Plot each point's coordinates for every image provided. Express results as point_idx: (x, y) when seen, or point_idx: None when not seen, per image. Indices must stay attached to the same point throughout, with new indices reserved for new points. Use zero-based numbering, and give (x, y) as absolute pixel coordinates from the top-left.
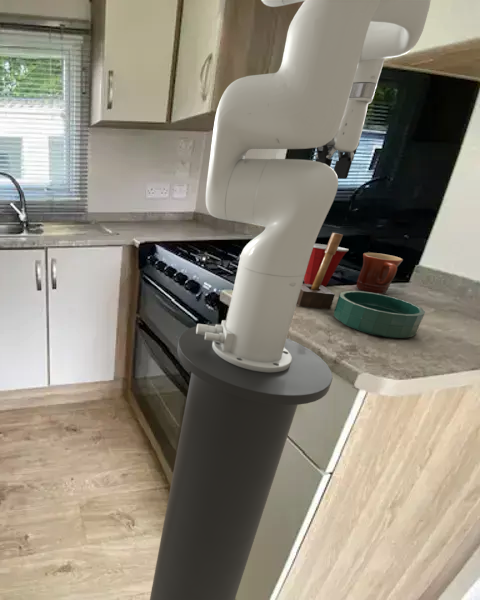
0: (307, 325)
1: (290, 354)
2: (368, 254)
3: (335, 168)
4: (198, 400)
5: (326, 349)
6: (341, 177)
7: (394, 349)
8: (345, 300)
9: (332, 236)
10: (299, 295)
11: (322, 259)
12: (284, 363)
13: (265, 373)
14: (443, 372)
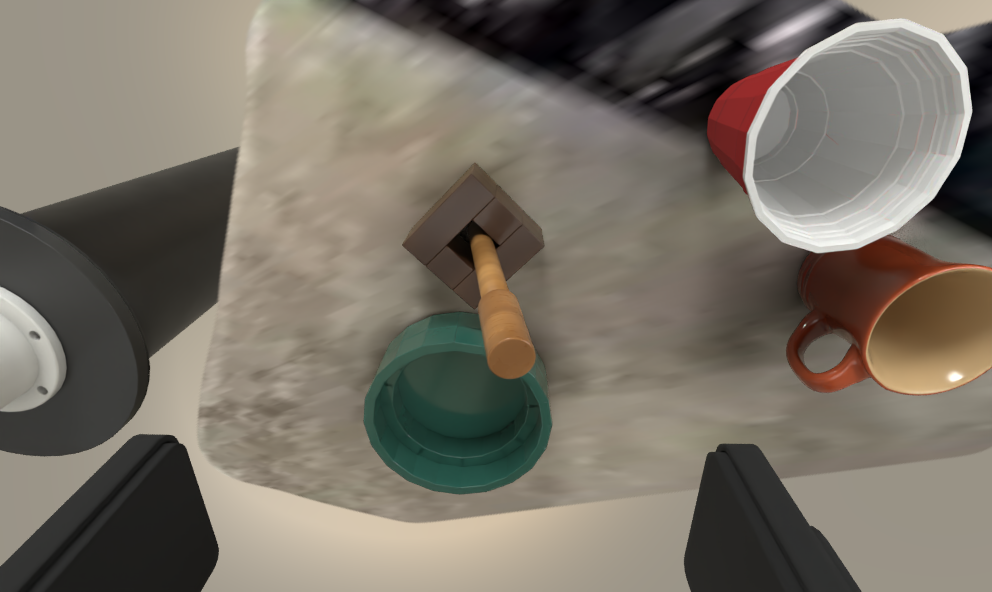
0: (292, 311)
1: (47, 398)
2: (981, 274)
3: (760, 570)
4: None
5: (215, 387)
6: (692, 540)
7: (361, 446)
8: (376, 375)
9: (486, 342)
10: (419, 223)
11: (736, 169)
12: (8, 408)
13: None
14: (344, 506)
